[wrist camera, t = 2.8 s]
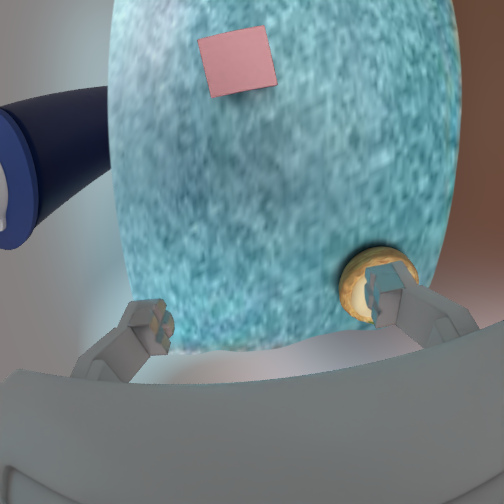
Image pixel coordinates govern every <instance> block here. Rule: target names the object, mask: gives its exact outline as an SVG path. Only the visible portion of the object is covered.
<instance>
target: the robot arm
mask: <svg viewBox="0 0 504 504" xmlns="http://www.w3.org/2000/svg"><path fill="white" fill-rule="evenodd" d="M7 205H8V188H7V182H6V177H5V174H4V171H3V168H2V165H1V163H0V231H3V230H4V229H6V210H7ZM365 278H366V280H367V282H366V284H365V285H364V294H365V301H366V304H367V307H368V309H370V310H372V312H371V317H372V320H373V323H374V325H375V328H376V329H377V328H382V327H387V326H391V325H396V326H397V327H398V328H400V329H401V330H402V331H403V332H405V333H406V334H407V335H408V336H409V337H411V338H412V339H413V340H414V341H416V342H417V343H418V344H419V345H421V346H422V347H423V348H424V349H422V350H419V351H416V352H412V353H408V354H405V355H401V356H397V357H393V358H389V359H385V360H382V361H377V362H373V363H368V364H364V365H359V366H354V367H349V368H344V369H339V370H333V371H327V372H322V373H315V374H309V375H302V376H295V377H288V378H279V379H270V380H260V381H250V382H249V381H248V382H235V383H218V384H137V383H129V381H130V380H131V379H132V378H133V377H134V375H135V374H136V373H137V372H138V371H139V370H140V368H141V367H142V366H143V365H144V364H145V362H146V361H147V360H148V358H150V356H155V355H168V351H169V347H170V344H171V342H170V340H169V338H170V337H171V336H172V335H173V333H174V320H173V317H172V315H171V313H170V312H168V311H167V310H165V309H166V306H167V305H166V303H165V302H164V300H163V299H161V298H159V299H148V300H138V301H131V302H129V303H128V306H127V308H126V310H125V312H124V314H123V316H122V318H121V320H120V322H119V324H118V327H117V328H113V329H112V330H111V331H110V332H109V333H107V334H106V335H105V336H104V337H103V338H101V339H100V340H99V341H98V342H97V343H96V344H94V345H93V346H92V347H91V348H90V349H89V350H87V351H86V352H85V353H84V354H83V355H82V356H80V357H79V359H78V361H77V363H76V365H75V367H74V369H73V371H72V374H71V376H70V377H63V376H57V375H50V374H45V373H39V372H33V371H29V370H23V369H18V370H15V371H14V372H12V373H11V374H10V375H9V376H8V377H7V378H5V379H4V380H3V381H2V382H1V384H0V504H504V320H503V321H500V322H498V323H496V324H493V325H491V326H488V327H486V328H484V329H481V330H480V329H479V327H478V325H477V324H476V322H475V320H474V319H473V317H472V316H471V314H470V313H469V311H468V309H466V308H465V307H462V306H461V305H459V304H457V303H455V302H453V301H451V300H449V299H448V298H446V297H444V296H442V295H440V294H438V293H436V292H434V291H432V290H430V289H429V288H427V287H425V286H423V285H419V286H418V284H417V283H416V281H415V279H414V278H413V276H412V275H411V273H410V272H409V270H408V269H407V267H406V266H405V264H404V263H403V261H401V260H400V261H396V262H391V263H388V264H383V265H378V266H373V267H367V268H366V269H365Z"/></svg>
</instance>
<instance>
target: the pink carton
mask: <svg viewBox="0 0 504 504" xmlns="http://www.w3.org/2000/svg"><path fill="white" fill-rule="evenodd" d="M197 41H198V45H199V49H200V53H201V58H202V62H203V66H204V70H205V74H206V78H207V82H208V86H209V90H210V95H211V98H215V97H219V96H224V95H229V94H234V93H239V92H244V91H249V90H254V89H260V88H265V87H271V86H276V85H278V83H277V79H276V74H275V69H274V65H273V60H272V56H271V51H270V47H269V43H268V39H267V34H266V30H265V26H264V25H263V26H256V27H251V28H245V29H240V30H235V31H230V32H226V33H222V34H217V35H213V36H209V37H206V38H202V39H198V40H197Z"/></svg>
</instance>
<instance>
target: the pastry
mask: <svg viewBox="0 0 504 504" xmlns="http://www.w3.org/2000/svg"><path fill="white" fill-rule="evenodd" d="M400 260H401V261H403V263H404V264H405V266H406V267H407V269H408V270H409V272H410V273H411V275H412V276H413V278H414V279H415V281H416V283H417V284H418V283H419V278H418V274H417V271H416V268H415V267H414V265H413V264H412V262H411V261H410V260H409V259H408V258H407V256H406V255H404V254H403V253H402V252H400V251H398V250H396V249H394V248H390V247H383V246H382V247H373V248H369V249H367V250H364V251H362V252H360V253H359V254H357V255H356V256H355V257H354V258H353V259H352V260H351V261H350V262H349V263H348V264H347V266H346V267H345V269H344V270H343V273H342V275H341V278H340V282H339V296H340V302H341V305H342V307H343V308H344V309H345V310H346V311H347V312H348V313H349V314H350V315H351V316H352V317H355V318H356V319H358V320H359V321H365V322H367V323H371V324H374V323H373V320H372V317H371V312H372V310H370V309H368V307H367V304H366V301H365V294H364V285H365V284H366V282H367V280H366V278H365V269H366V268H367V267H373V266H378V265H383V264H388V263H391V262H396V261H400Z"/></svg>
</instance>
